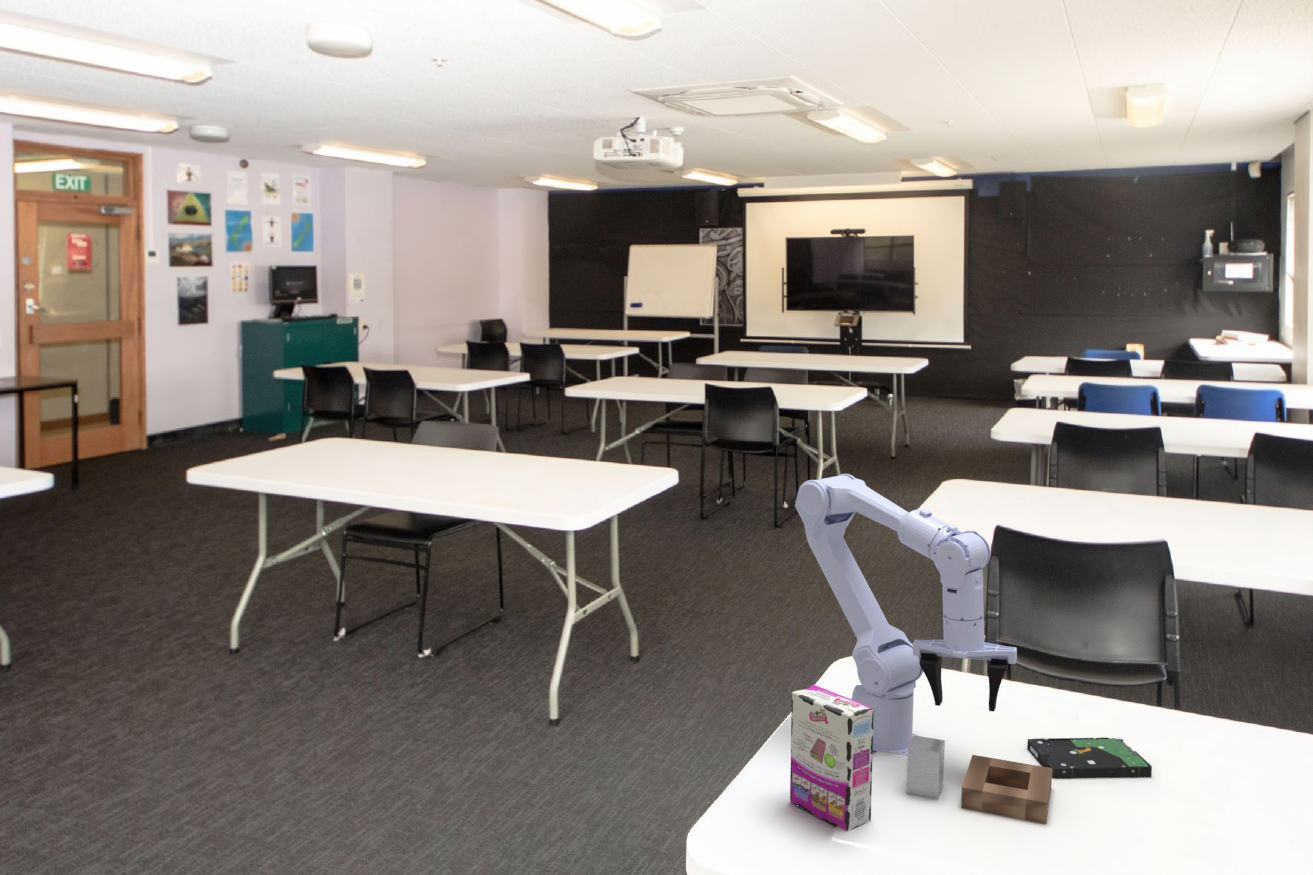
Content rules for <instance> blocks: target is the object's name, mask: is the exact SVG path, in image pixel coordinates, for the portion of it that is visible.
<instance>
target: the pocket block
mask: <svg viewBox="0 0 1313 875" xmlns="http://www.w3.org/2000/svg"><path fill="white" fill-rule="evenodd" d="M1052 781H1053V778H1052V768H1048V767H1042V766H1041V765H1035V764H1029V763H1024V762H1018V761H1011V760H1007V759H1006V760H1005V759H1000V758H994V757H990V756H983V755H977V754H972V755H971V758H970V761H969V764H968V767H967V770H966V773H965V776H964V779H963V784H962V786H961V806H960V809H964V810H968V811H974V812H978V813H980V812H981V813H985V814H989V815H995V816H1001V817H1006V818H1011V819H1017V820H1022V821H1026V822H1033V823H1036V824H1042V825H1047V822H1048V814H1049V807H1050V800H1051V794H1052V785H1053V784H1052Z"/></svg>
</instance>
